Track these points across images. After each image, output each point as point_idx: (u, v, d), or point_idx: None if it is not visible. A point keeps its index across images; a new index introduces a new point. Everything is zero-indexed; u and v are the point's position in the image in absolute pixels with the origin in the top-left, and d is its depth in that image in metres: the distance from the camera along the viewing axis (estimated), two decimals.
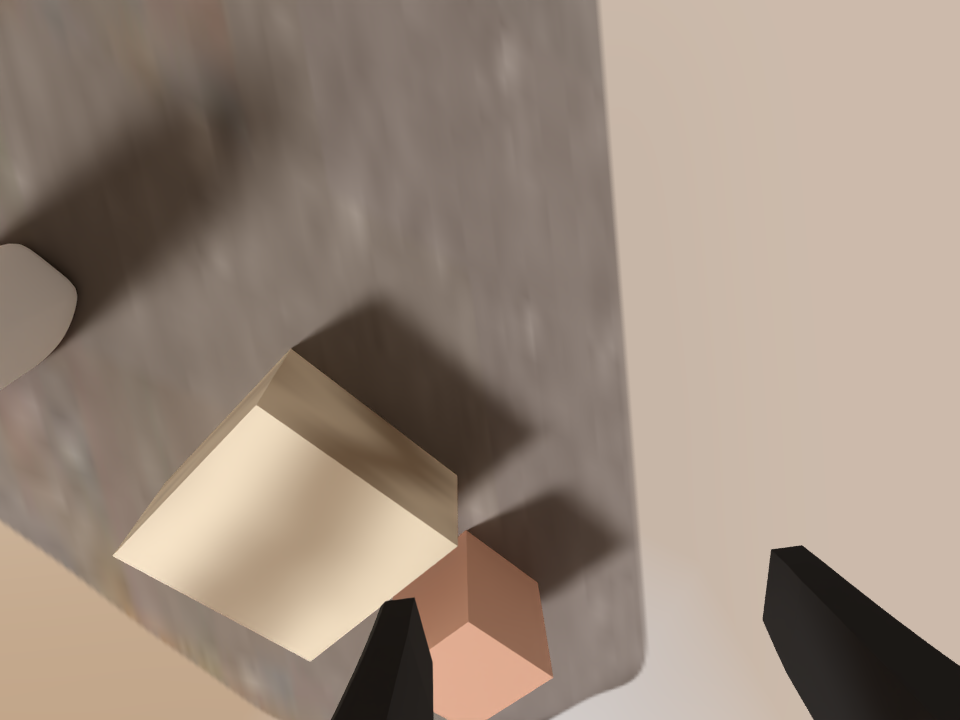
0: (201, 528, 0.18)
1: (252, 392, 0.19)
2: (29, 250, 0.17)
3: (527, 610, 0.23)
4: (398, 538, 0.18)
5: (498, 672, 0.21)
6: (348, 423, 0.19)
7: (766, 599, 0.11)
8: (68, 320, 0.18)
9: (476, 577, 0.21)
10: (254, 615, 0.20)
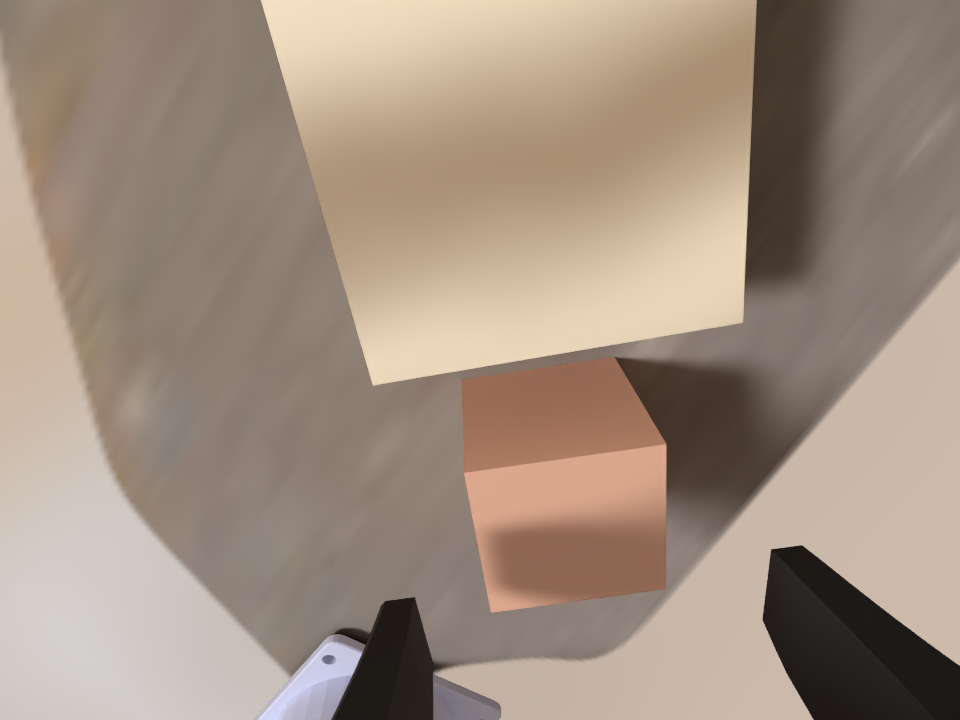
0: (448, 7, 0.09)
1: None
2: None
3: None
4: (691, 255, 0.11)
5: (616, 545, 0.13)
6: None
7: (766, 599, 0.11)
8: None
9: None
10: (370, 245, 0.11)
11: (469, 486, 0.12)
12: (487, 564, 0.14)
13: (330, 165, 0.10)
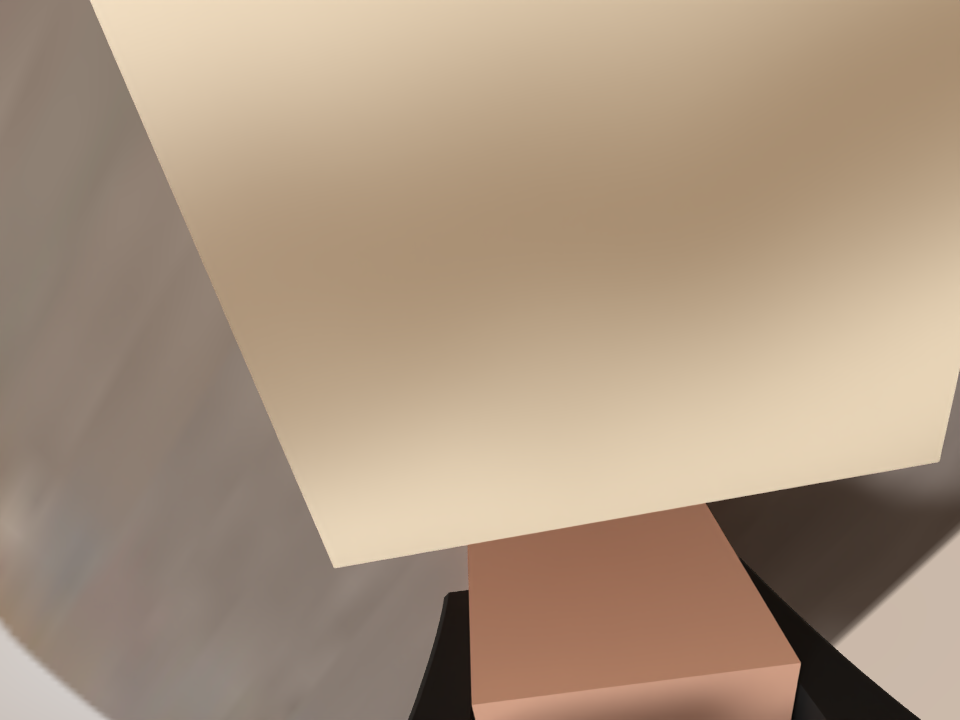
0: None
1: None
2: None
3: None
4: (869, 363, 0.06)
5: None
6: None
7: None
8: None
9: None
10: (314, 365, 0.06)
11: None
12: None
13: (230, 234, 0.05)
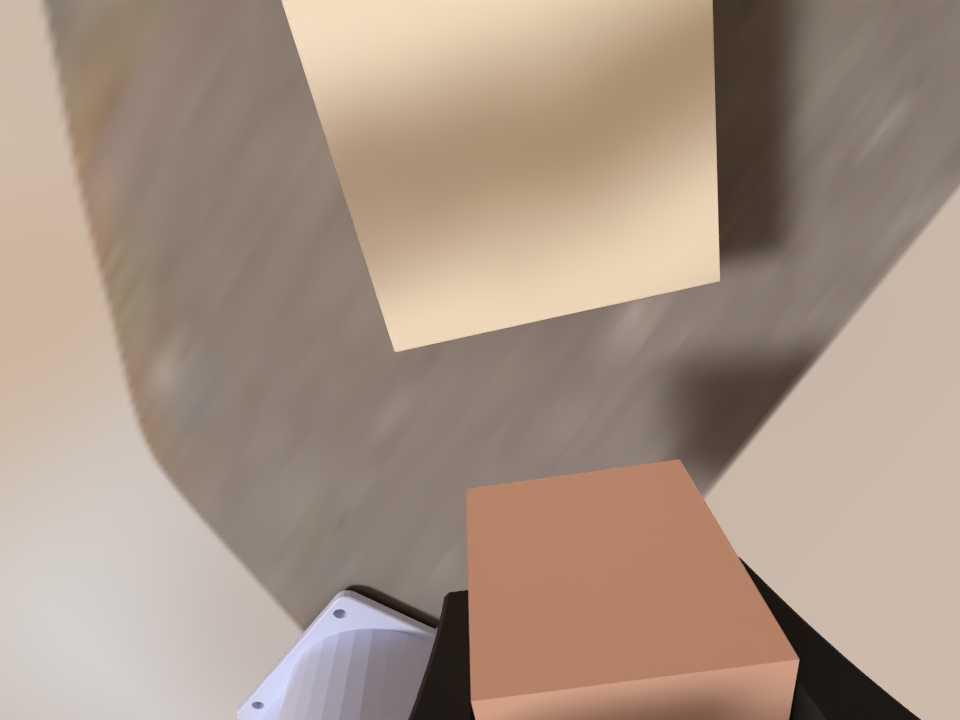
0: (447, 17, 0.11)
1: None
2: None
3: None
4: (670, 222, 0.13)
5: None
6: None
7: None
8: None
9: None
10: (388, 227, 0.12)
11: (479, 717, 0.08)
12: None
13: (351, 159, 0.12)
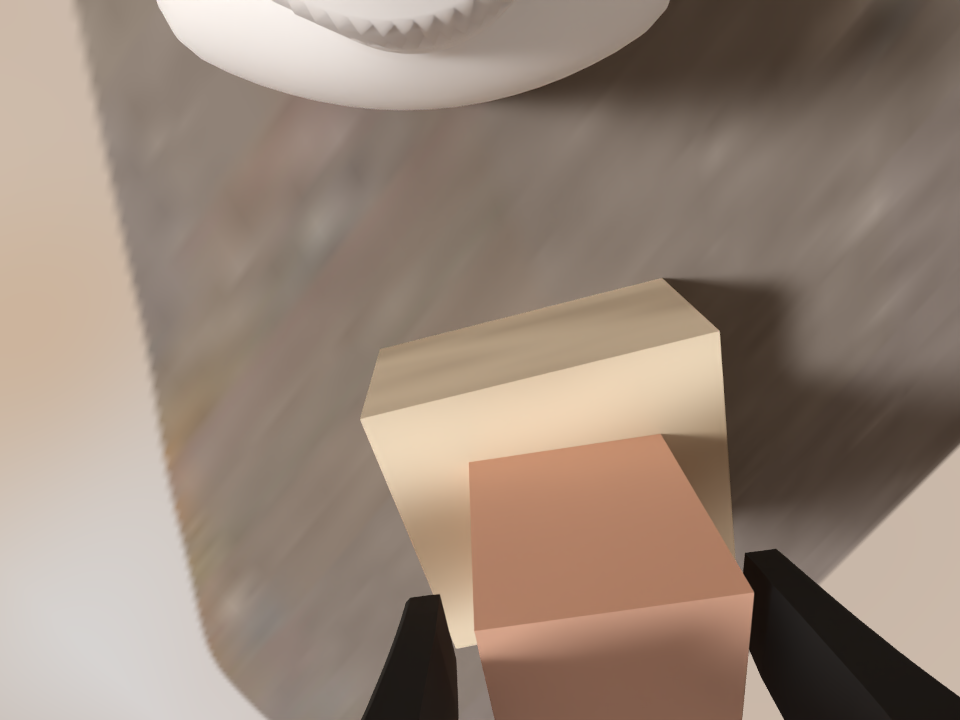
0: (503, 439, 0.13)
1: (600, 303, 0.15)
2: None
3: None
4: None
5: (677, 709, 0.10)
6: None
7: None
8: None
9: None
10: (452, 570, 0.14)
11: (481, 646, 0.09)
12: None
13: (422, 529, 0.14)
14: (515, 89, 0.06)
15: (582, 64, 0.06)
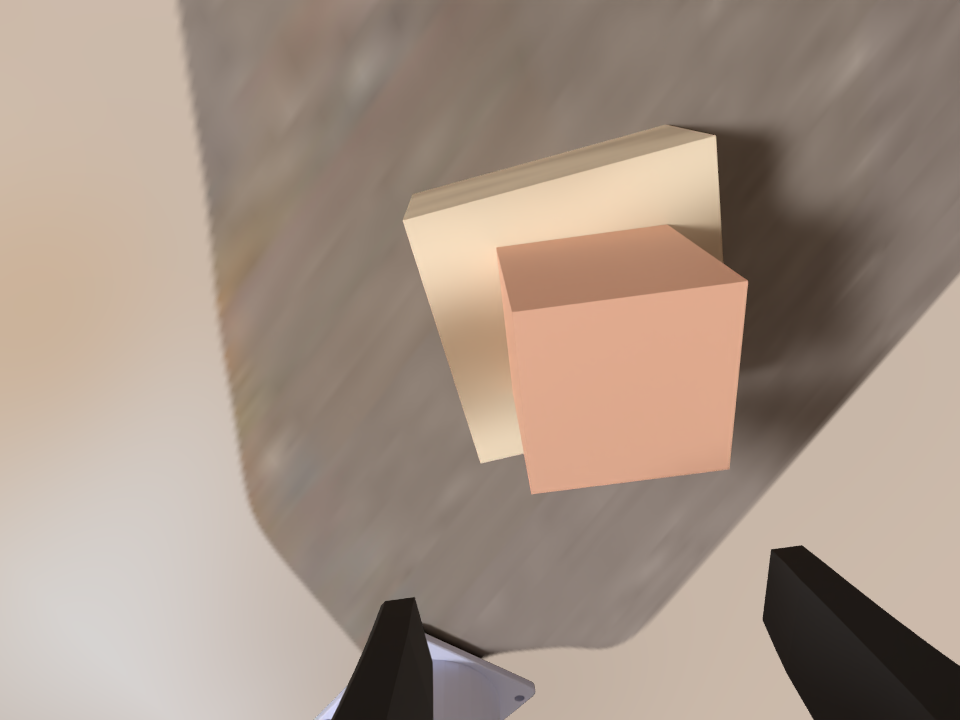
0: None
1: (611, 143, 0.16)
2: None
3: None
4: None
5: (678, 412, 0.12)
6: None
7: (766, 599, 0.11)
8: None
9: None
10: (478, 379, 0.16)
11: (517, 330, 0.11)
12: (531, 432, 0.12)
13: (453, 336, 0.16)
14: None
15: None
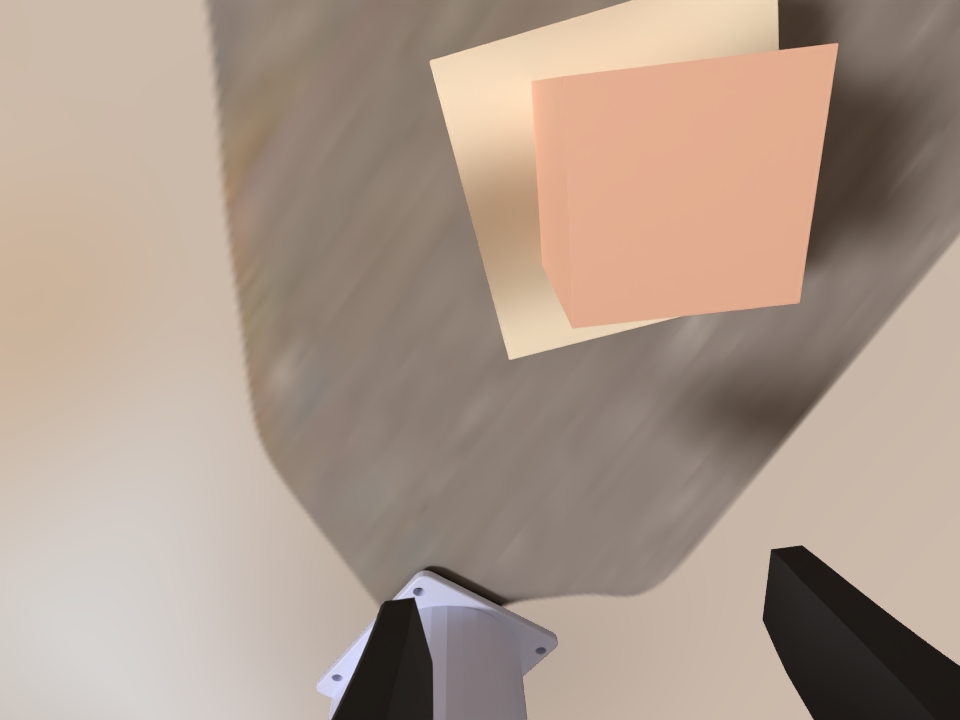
0: None
1: None
2: None
3: None
4: None
5: (747, 222, 0.10)
6: None
7: (766, 599, 0.11)
8: None
9: None
10: (509, 257, 0.15)
11: (567, 102, 0.09)
12: (576, 244, 0.10)
13: (482, 204, 0.14)
14: None
15: None
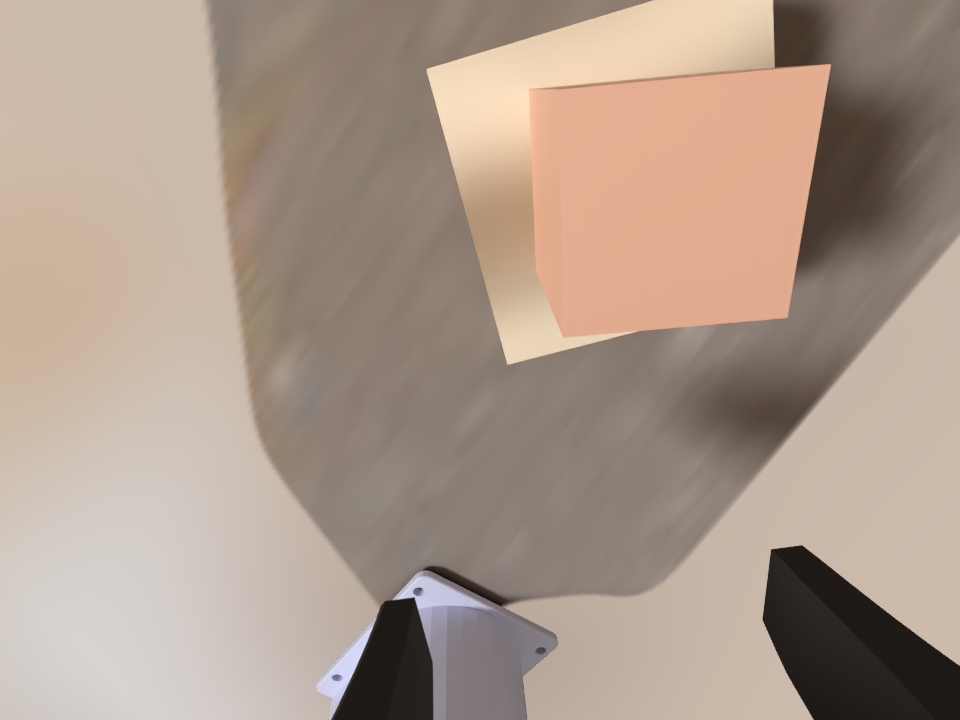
0: None
1: None
2: None
3: None
4: None
5: (737, 238, 0.10)
6: None
7: (766, 599, 0.11)
8: None
9: None
10: (507, 263, 0.15)
11: (562, 114, 0.09)
12: (568, 255, 0.10)
13: (480, 210, 0.14)
14: None
15: None
